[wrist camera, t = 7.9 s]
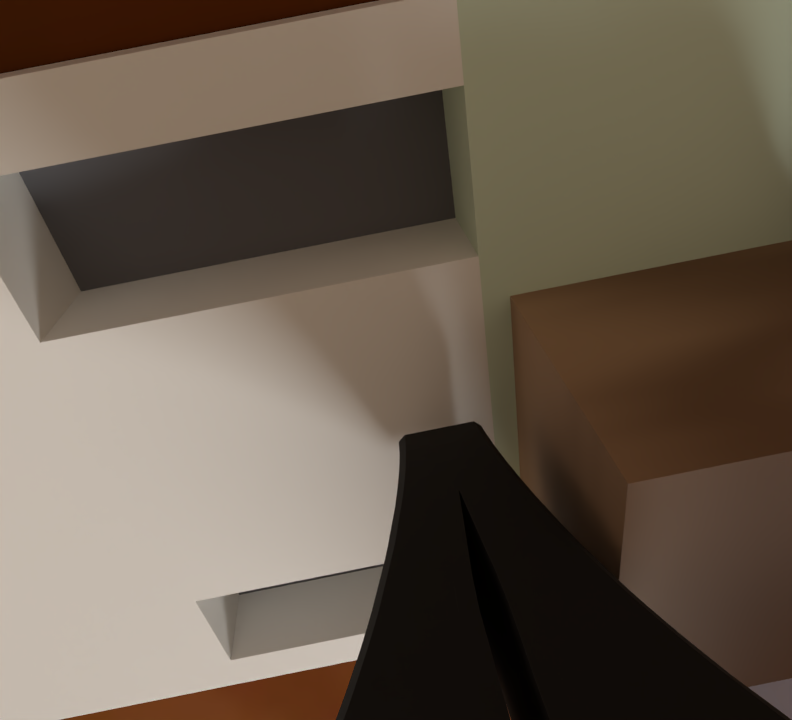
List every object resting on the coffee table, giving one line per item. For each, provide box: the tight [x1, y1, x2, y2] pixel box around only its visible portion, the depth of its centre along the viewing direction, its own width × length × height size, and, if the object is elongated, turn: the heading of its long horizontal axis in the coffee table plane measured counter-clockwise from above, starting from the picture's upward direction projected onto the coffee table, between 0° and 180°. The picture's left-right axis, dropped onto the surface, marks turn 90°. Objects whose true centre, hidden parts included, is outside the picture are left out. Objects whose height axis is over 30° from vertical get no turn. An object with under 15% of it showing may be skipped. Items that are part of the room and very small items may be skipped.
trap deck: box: [0, 0, 792, 720], centre depth 10 cm, size 20×13×4 cm, turn 99°
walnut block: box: [510, 240, 792, 687], centre depth 8 cm, size 5×5×4 cm
